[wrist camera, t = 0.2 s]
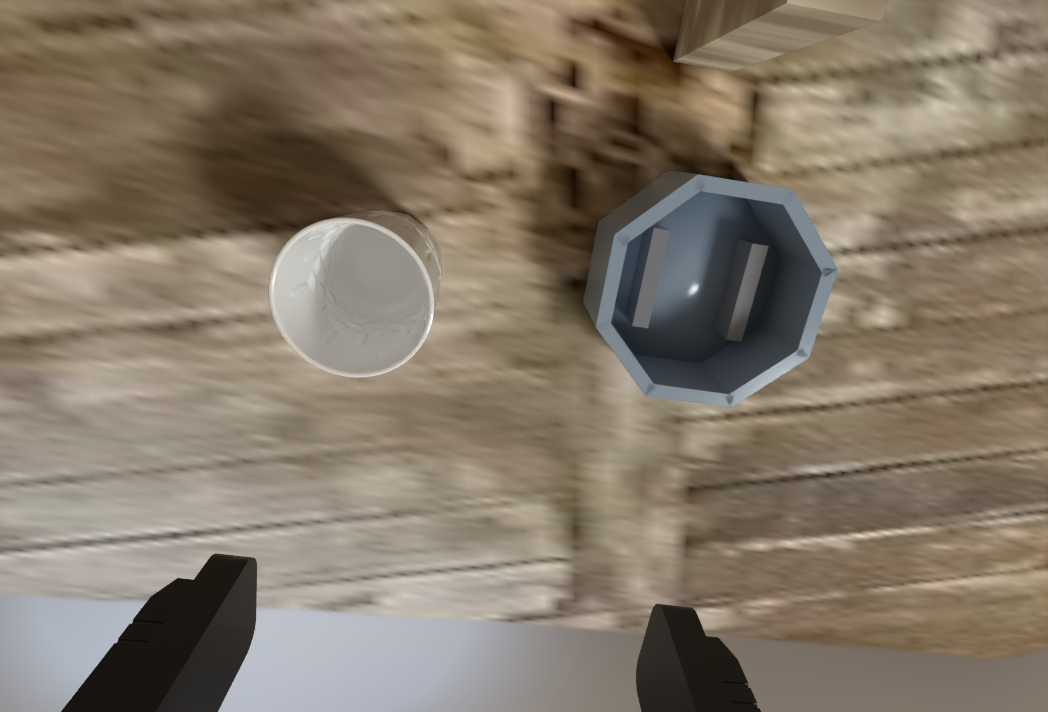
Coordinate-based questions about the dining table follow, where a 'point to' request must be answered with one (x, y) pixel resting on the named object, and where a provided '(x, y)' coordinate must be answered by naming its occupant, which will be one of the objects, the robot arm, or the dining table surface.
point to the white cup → (357, 291)
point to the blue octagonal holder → (708, 286)
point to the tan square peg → (764, 28)
